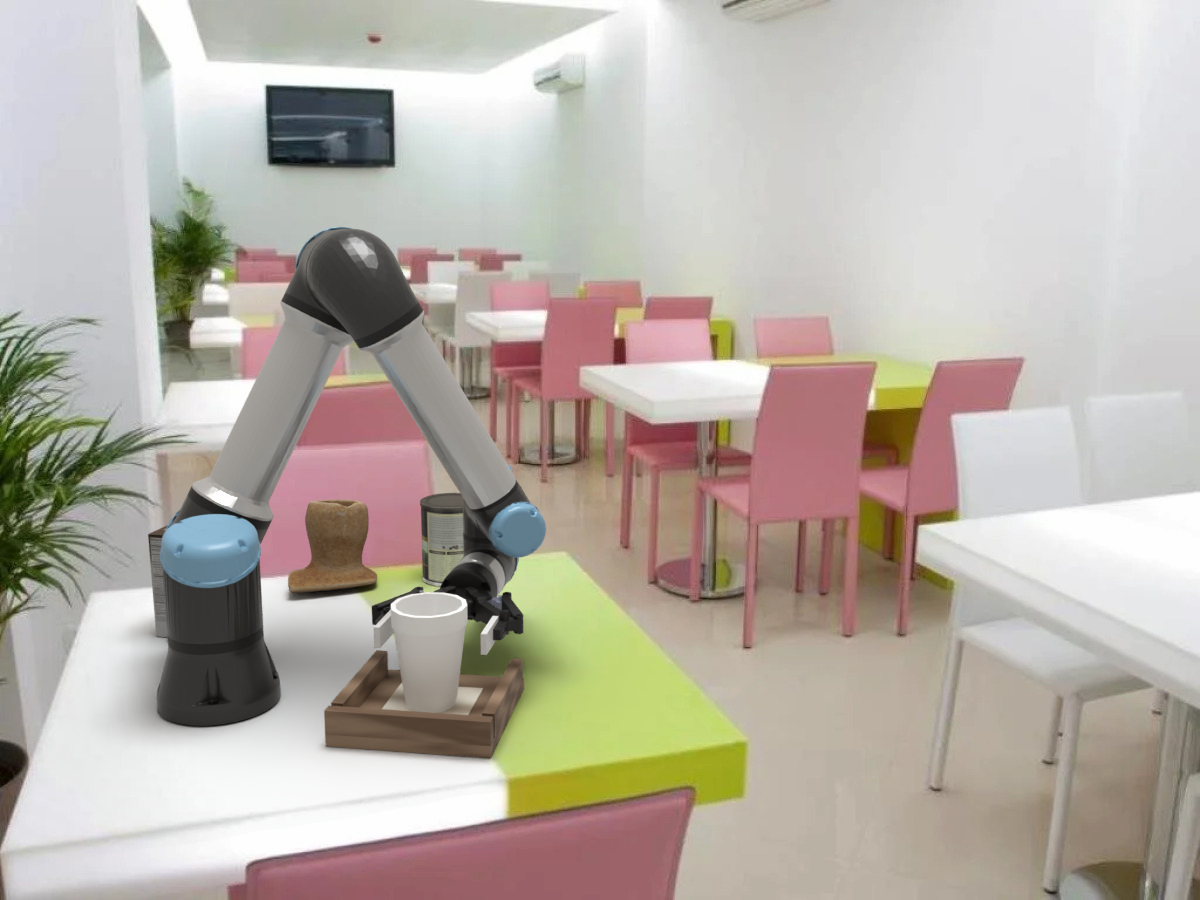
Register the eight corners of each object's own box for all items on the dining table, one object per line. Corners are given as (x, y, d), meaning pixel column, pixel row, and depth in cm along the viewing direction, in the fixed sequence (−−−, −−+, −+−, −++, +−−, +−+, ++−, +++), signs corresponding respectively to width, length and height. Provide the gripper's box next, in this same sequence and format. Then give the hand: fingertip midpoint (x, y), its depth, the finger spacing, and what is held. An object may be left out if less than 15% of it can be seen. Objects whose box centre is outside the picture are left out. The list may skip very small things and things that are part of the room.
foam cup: (380, 699, 143) (377, 601, 140) (444, 681, 148) (442, 587, 146) (416, 725, 136) (414, 623, 133) (482, 706, 141) (481, 607, 138)
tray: (379, 679, 153) (378, 648, 152) (524, 688, 151) (524, 656, 150) (325, 746, 134) (324, 710, 133) (490, 758, 131) (490, 722, 130)
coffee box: (188, 616, 176) (181, 517, 173) (225, 619, 175) (219, 519, 172) (154, 637, 167) (146, 533, 164) (193, 640, 166) (186, 536, 163)
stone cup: (369, 571, 200) (366, 488, 197) (382, 591, 189) (380, 505, 186) (281, 580, 194) (276, 495, 191) (289, 602, 183) (285, 512, 180)
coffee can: (409, 578, 196) (407, 499, 193) (456, 565, 203) (455, 489, 201) (446, 591, 189) (445, 510, 186) (493, 578, 196) (492, 500, 194)
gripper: (559, 616, 159) (529, 676, 138) (388, 606, 162) (334, 663, 142) (559, 565, 157) (528, 618, 137) (386, 556, 161) (332, 606, 140)
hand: (429, 641), depth 139 cm, fingers open, 13 cm apart
